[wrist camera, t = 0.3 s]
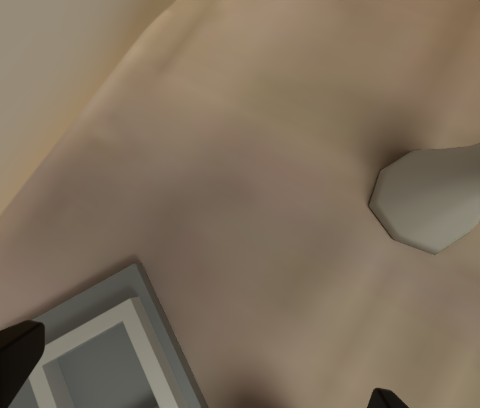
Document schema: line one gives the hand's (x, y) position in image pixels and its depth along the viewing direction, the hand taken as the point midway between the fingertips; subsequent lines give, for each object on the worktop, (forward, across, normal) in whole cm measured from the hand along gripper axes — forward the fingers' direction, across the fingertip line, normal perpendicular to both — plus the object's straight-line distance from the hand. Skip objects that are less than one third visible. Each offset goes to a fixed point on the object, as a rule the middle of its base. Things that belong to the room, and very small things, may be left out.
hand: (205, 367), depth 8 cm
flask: (+16, -13, -3) cm, 21 cm away
